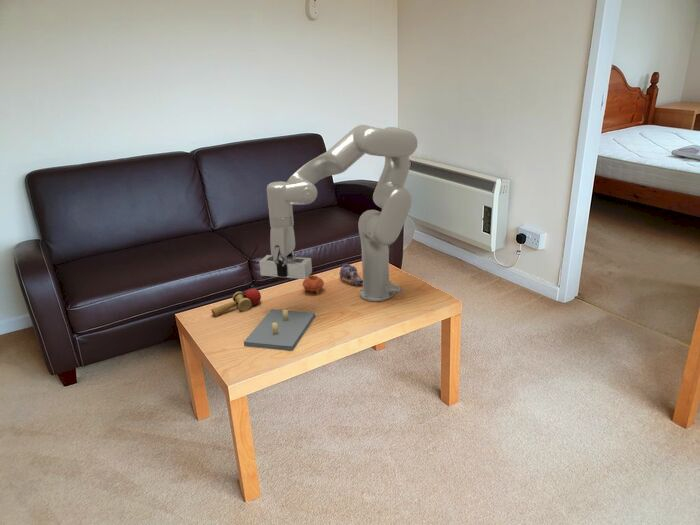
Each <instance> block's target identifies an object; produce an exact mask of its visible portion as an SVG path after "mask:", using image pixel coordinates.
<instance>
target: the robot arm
mask: <svg viewBox="0 0 700 525" xmlns="http://www.w3.org/2000/svg"><path fill="white" fill-rule="evenodd" d="M416 136H417V135H415V134H414V132H412V131H410V130H409V129H404V128H400V127H396V126H395V127H394V126H387V127H385V128H382V127H381V128H379V127H374V126H370V125H368V124H367V125H366V124H359V125H357V126H354V128H352V129H351V130H350V131H349V132H348V133H347V134H345V135H344V136H343V137H342V138H341V139H339V140H338V141H337V142H336V143H335V144H333V145H332V146H331V147H330V148H329V149H328V150H327V151H325V152H324V153H322V154H319V155H318V156H317V157H314V158H313V159H311V160H309V161H308V162H306V163H304V164H303V165H302V166H301V167H300V168H298V169H297V170H296V171H295V172H294V173H292V175H291V176H290V177H289V178H288V179H287V181H281V180H280V181H272V182H270V183H269V184H267V186H266V195H267V196H266V197H267V206H268V215H269V216H268V217H269V224H270V225H269V226H270V235H269V237H270V238H269V239H270V240H269V241H270V242H269V243H270V245H269V246H270V255H271V256H272V257H273V261H274V262H275V263H276V266H277V275H278V277H277V278H286V277H287V269H286V265H285V257H286V256H288V257H295V248H296V236H295V231H294V225H295V224H294V222H295V221H294V213H293V212H294V211H293V210H294V209H293V205H297V206H301V205H304V206H305V205H310V204H312V203H313V202H315V200H316V199H317V197H318V189H317V186H315V184H317V183H318V182H320V180H323V179H325V178H327V177H330V176H336V175H340V174H343V173H345V172H346V171H347V170H348V169H349V168H351V167H352V166H353V165H354V164H355V163H356V162H357V161H358V160H360V159H362V157H363V156H364V155H369V156H373V157H374V156H376V157H384V166H383V169H382V172H381V174H380V177H379V179H378V180H377V181H378V182H377V184H376V186H375V189H374V192H373V195H372V200H373V201H372V202H374V204H375V205H376V206H377V207H379V208H380V209H381V211H379V210H376V209H367V210H365V211H364V212H362V214H361V215H360V216H359V219H358V224H357V225H358V234H359V240H360V245H361V247H360V248H361V266H362V267H361V268H362V270H361V271H362V280H363V285H362V288H361V289H359V291H358V292H359V293H358V294H359V297H360V298H361V299H363V300H364V301H368V302H383V301H387V300H390V299H391V298H392V297H393V296H394V295H395V293H397V294H401V293H402V287H400V285H398V284H392V280H390V266H389V264H390V260H389V258H390V256H389V253H390V251H389V246H390V245H392V244H393V243H395V241H396V240H397V239H398V237H399V236H400V233H401V231H402V229H403V227H404V225H405V222H406V220H407V217H408V216H409V215H408V214H409V213H410V211H411V207H412V195H411V193H410V192H409V190H408V189H407V188H406V187H404V185H405V183H406V180H407V178H408V174H409V171H410V166H411V164H410V156H412V155H413V154H414V153H415V152H416V150H417V148H418V138H417V137H416ZM279 258H282V261H281V260H279Z"/></svg>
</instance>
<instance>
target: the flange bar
mask: <svg viewBox="0 0 700 525" xmlns="http://www.w3.org/2000/svg"><path fill="white" fill-rule="evenodd" d="M279 260H281V261H282V258H279ZM258 262H259V264H258V265H259V273H260V276H261V277H262V276H264V277H266V276H267V277H274V278H275V277H277V278H279V277H278V275H277V266H276V263H275V262H274V261H273V257H272V256H271V254H266V255H265V256H264V257H263V258H261V259H260V260H258ZM285 265H286V269H287V277H285V278H287V279H299V280H301V279H302V280H305V279H306V278H308V276H311V275H312V272H313V266H312V265H313V264H312V258H311V257H299V256H294V257H288V256H286V257H285Z"/></svg>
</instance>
